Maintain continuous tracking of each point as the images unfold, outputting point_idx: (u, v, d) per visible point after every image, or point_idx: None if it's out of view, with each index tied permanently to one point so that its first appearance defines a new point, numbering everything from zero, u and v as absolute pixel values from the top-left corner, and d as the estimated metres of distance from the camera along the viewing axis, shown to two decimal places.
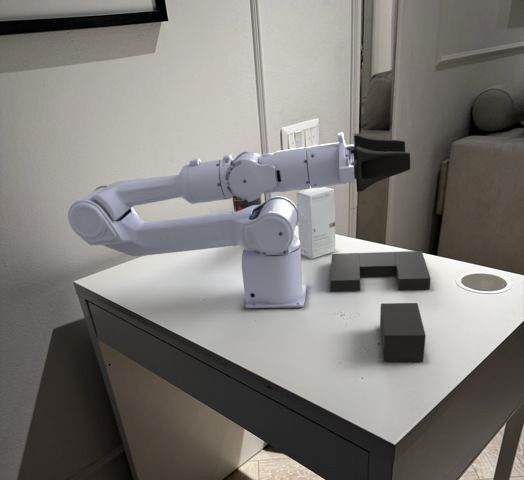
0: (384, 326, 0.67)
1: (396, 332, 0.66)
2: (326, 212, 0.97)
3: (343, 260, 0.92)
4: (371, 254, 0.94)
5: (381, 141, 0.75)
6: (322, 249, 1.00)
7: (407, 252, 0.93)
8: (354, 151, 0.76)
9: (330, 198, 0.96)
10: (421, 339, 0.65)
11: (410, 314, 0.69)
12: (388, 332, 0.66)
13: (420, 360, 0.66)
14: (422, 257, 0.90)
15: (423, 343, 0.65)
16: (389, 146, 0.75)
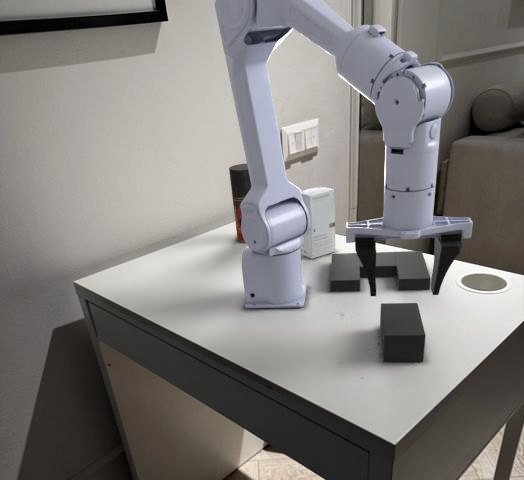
0: (384, 326, 0.67)
1: (396, 332, 0.66)
2: (326, 212, 0.97)
3: (343, 260, 0.92)
4: None
5: (437, 272, 0.63)
6: (322, 249, 1.00)
7: (407, 252, 0.93)
8: (440, 239, 0.62)
9: (330, 198, 0.96)
10: (421, 339, 0.65)
11: (410, 314, 0.69)
12: (388, 332, 0.66)
13: (420, 360, 0.66)
14: (422, 257, 0.90)
15: (423, 343, 0.65)
16: (434, 278, 0.64)
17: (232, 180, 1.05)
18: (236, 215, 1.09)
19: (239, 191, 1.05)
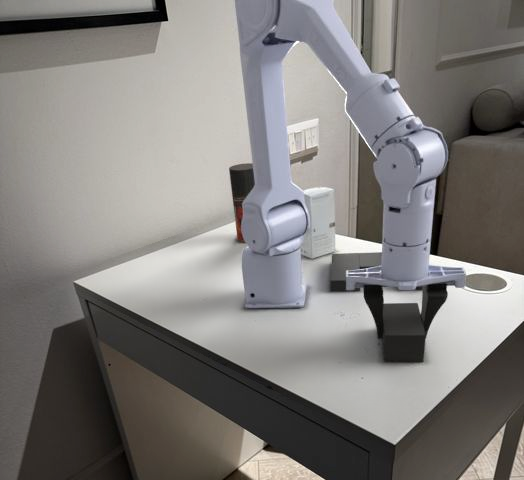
0: (384, 326, 0.67)
1: (396, 332, 0.66)
2: (326, 212, 0.97)
3: (343, 260, 0.92)
4: (371, 254, 0.94)
5: (424, 318, 0.67)
6: (322, 249, 1.00)
7: None
8: (427, 288, 0.65)
9: (330, 198, 0.96)
10: (421, 339, 0.65)
11: (410, 314, 0.69)
12: (388, 332, 0.66)
13: (420, 360, 0.66)
14: None
15: (423, 343, 0.65)
16: None
17: (232, 180, 1.05)
18: (236, 215, 1.09)
19: (239, 191, 1.05)
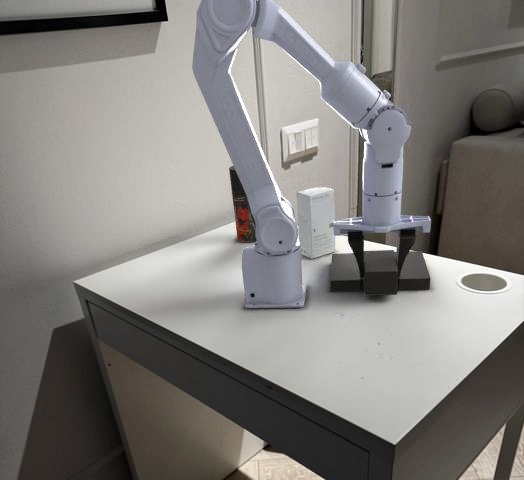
0: (365, 266, 0.82)
1: (374, 269, 0.80)
2: (326, 212, 0.97)
3: (343, 260, 0.92)
4: None
5: (398, 259, 0.81)
6: (322, 249, 1.00)
7: None
8: (400, 233, 0.80)
9: (330, 198, 0.96)
10: (395, 274, 0.79)
11: (387, 258, 0.84)
12: (368, 269, 0.80)
13: (394, 293, 0.81)
14: (422, 257, 0.90)
15: (396, 278, 0.80)
16: None
17: (232, 180, 1.05)
18: (236, 215, 1.09)
19: (239, 191, 1.05)
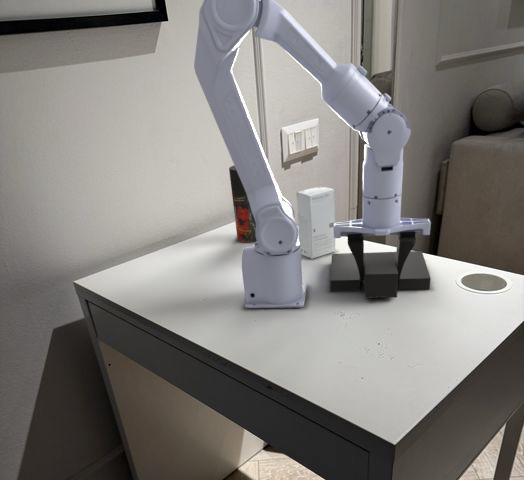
0: (365, 268, 0.82)
1: (374, 272, 0.80)
2: (326, 212, 0.97)
3: (343, 260, 0.92)
4: None
5: (398, 261, 0.81)
6: (322, 249, 1.00)
7: None
8: (400, 235, 0.80)
9: (330, 198, 0.96)
10: (394, 277, 0.79)
11: (387, 260, 0.84)
12: (368, 272, 0.80)
13: (394, 295, 0.81)
14: (422, 257, 0.90)
15: (396, 280, 0.80)
16: None
17: (232, 180, 1.05)
18: (236, 215, 1.09)
19: (239, 191, 1.05)
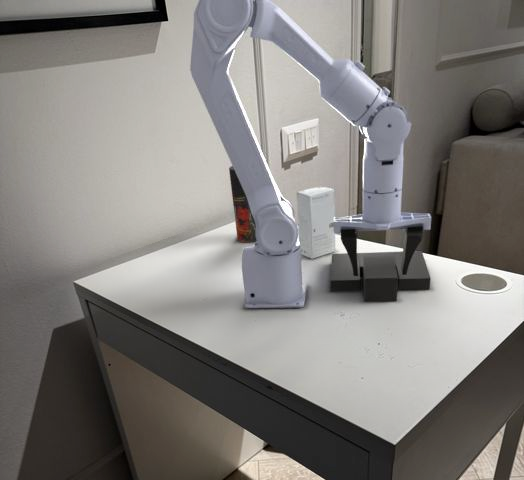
0: (365, 272, 0.82)
1: (374, 276, 0.81)
2: (326, 212, 0.97)
3: (343, 260, 0.92)
4: (371, 254, 0.94)
5: (405, 256, 0.81)
6: (322, 249, 1.00)
7: None
8: (407, 230, 0.79)
9: (330, 198, 0.96)
10: (394, 281, 0.80)
11: (387, 264, 0.84)
12: (368, 276, 0.81)
13: (394, 299, 0.81)
14: (422, 257, 0.90)
15: (396, 284, 0.80)
16: (403, 261, 0.82)
17: (232, 180, 1.05)
18: (236, 215, 1.09)
19: (239, 191, 1.05)
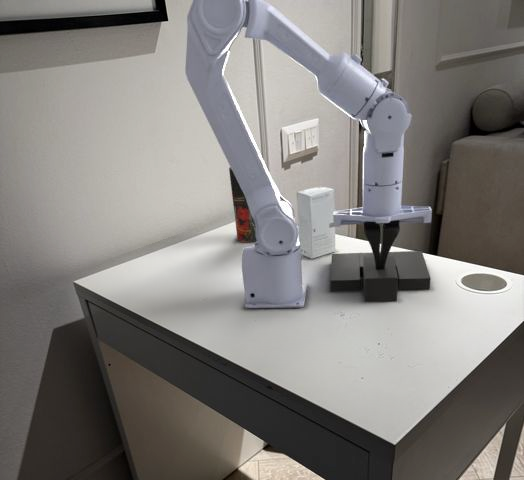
0: (365, 272, 0.82)
1: (374, 276, 0.81)
2: (326, 212, 0.97)
3: (343, 260, 0.92)
4: (371, 254, 0.94)
5: (382, 251, 0.81)
6: (322, 249, 1.00)
7: (407, 252, 0.93)
8: (384, 224, 0.79)
9: (330, 198, 0.96)
10: (394, 281, 0.80)
11: (387, 264, 0.84)
12: (368, 276, 0.81)
13: (394, 299, 0.81)
14: (422, 257, 0.90)
15: (396, 284, 0.80)
16: (381, 255, 0.82)
17: (232, 180, 1.05)
18: (236, 215, 1.09)
19: (239, 191, 1.05)
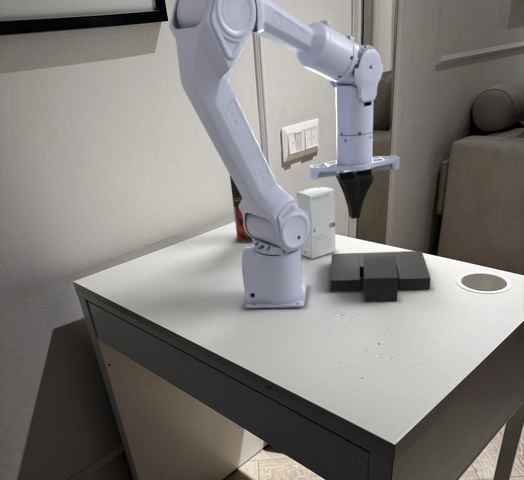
0: (365, 272, 0.82)
1: (374, 276, 0.81)
2: (326, 212, 0.97)
3: (343, 260, 0.92)
4: (371, 254, 0.94)
5: (358, 199, 0.86)
6: (322, 249, 1.00)
7: (407, 252, 0.93)
8: (357, 174, 0.85)
9: (330, 198, 0.96)
10: (395, 281, 0.80)
11: (387, 264, 0.84)
12: (368, 276, 0.81)
13: (394, 299, 0.81)
14: (422, 257, 0.90)
15: (396, 284, 0.80)
16: None
17: (232, 180, 1.05)
18: (236, 215, 1.09)
19: None
